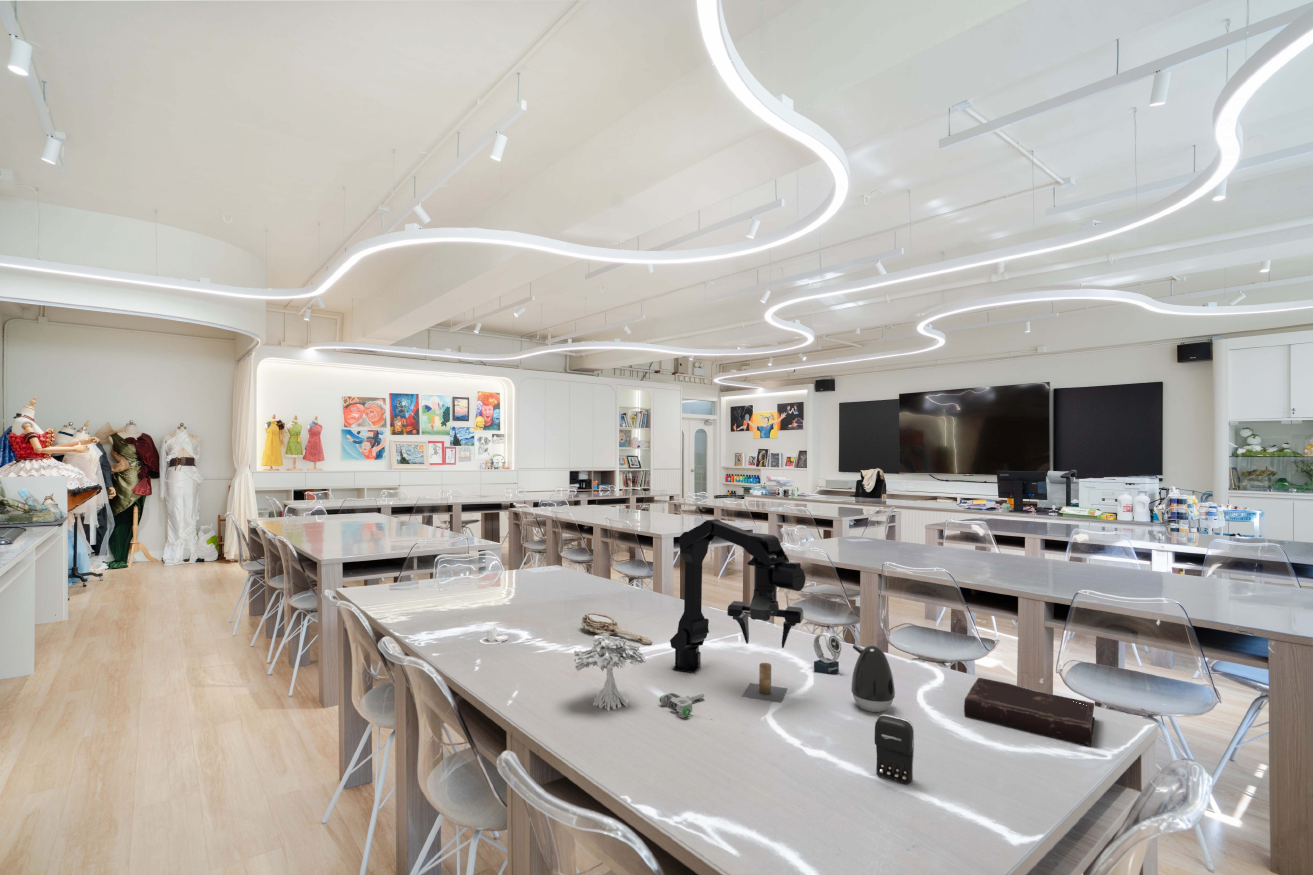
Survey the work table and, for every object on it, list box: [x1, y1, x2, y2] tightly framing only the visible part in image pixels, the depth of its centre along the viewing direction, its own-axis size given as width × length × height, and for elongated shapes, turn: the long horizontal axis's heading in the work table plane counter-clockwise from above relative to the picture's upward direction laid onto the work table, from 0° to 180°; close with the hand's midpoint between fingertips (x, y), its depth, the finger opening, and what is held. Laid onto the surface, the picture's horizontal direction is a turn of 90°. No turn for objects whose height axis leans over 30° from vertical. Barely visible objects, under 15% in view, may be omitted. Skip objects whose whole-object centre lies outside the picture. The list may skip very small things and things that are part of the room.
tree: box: [572, 633, 647, 712], centre depth 156 cm, size 18×16×17 cm
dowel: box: [758, 662, 772, 694], centre depth 161 cm, size 3×3×7 cm
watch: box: [812, 632, 842, 676], centre depth 179 cm, size 6×8×11 cm
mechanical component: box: [659, 692, 706, 719], centre depth 153 cm, size 3×10×10 cm
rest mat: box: [741, 682, 789, 704], centre depth 161 cm, size 10×10×1 cm
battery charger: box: [874, 714, 915, 785], centre depth 121 cm, size 7×4×11 cm, turn 56°
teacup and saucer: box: [479, 627, 509, 645], centre depth 205 cm, size 9×8×4 cm
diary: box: [963, 677, 1096, 748], centre depth 150 cm, size 19×25×5 cm
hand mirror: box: [581, 612, 653, 646], centre depth 212 cm, size 11×6×30 cm
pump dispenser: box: [850, 644, 896, 713], centre depth 155 cm, size 10×10×15 cm
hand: (764, 645), depth 162 cm, fingers open, 9 cm apart
